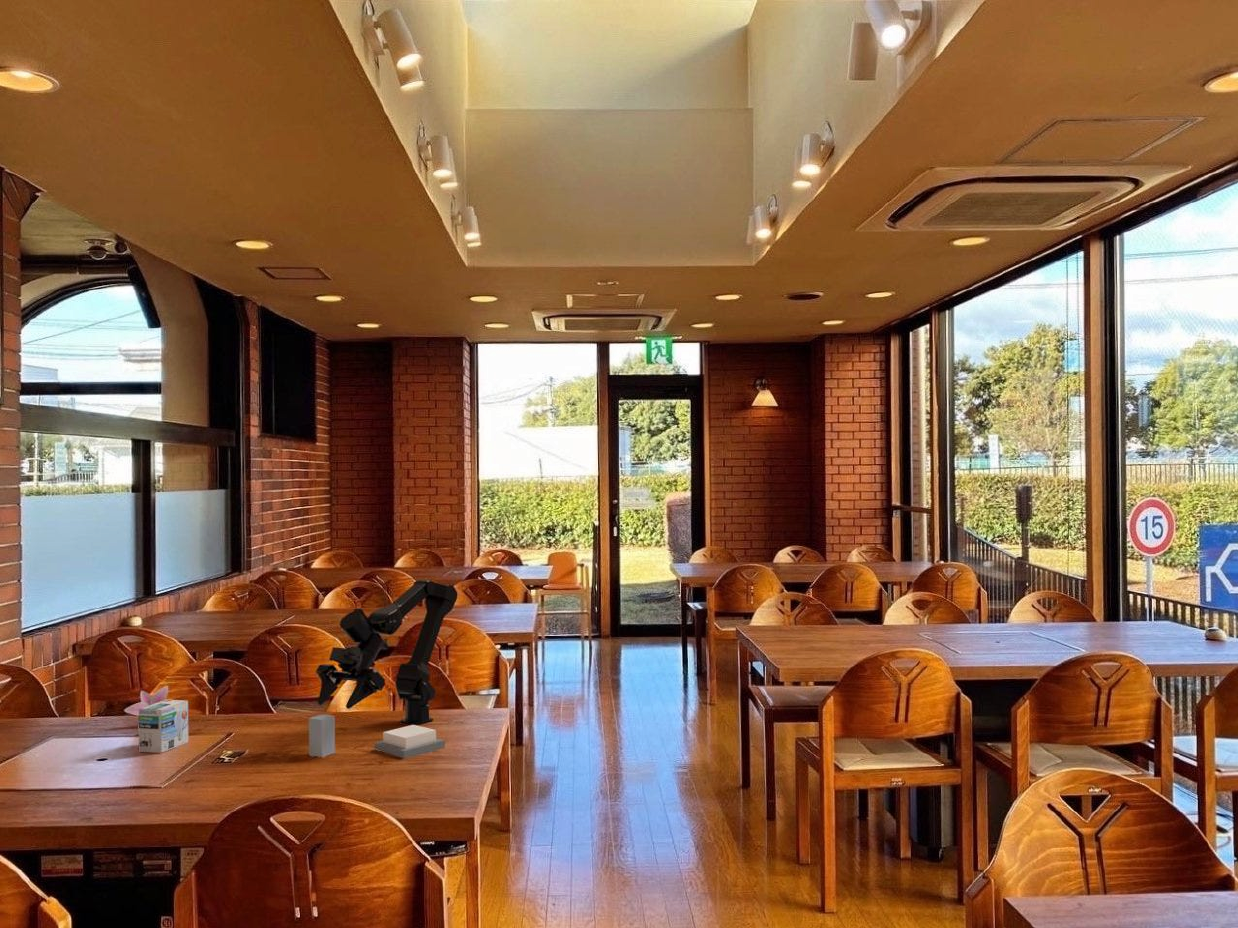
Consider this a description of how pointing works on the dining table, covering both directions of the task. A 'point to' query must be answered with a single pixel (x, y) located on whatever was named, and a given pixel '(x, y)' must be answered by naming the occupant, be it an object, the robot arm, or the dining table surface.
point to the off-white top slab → (409, 736)
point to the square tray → (412, 750)
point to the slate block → (321, 735)
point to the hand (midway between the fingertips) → (333, 705)
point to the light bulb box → (163, 726)
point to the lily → (148, 700)
